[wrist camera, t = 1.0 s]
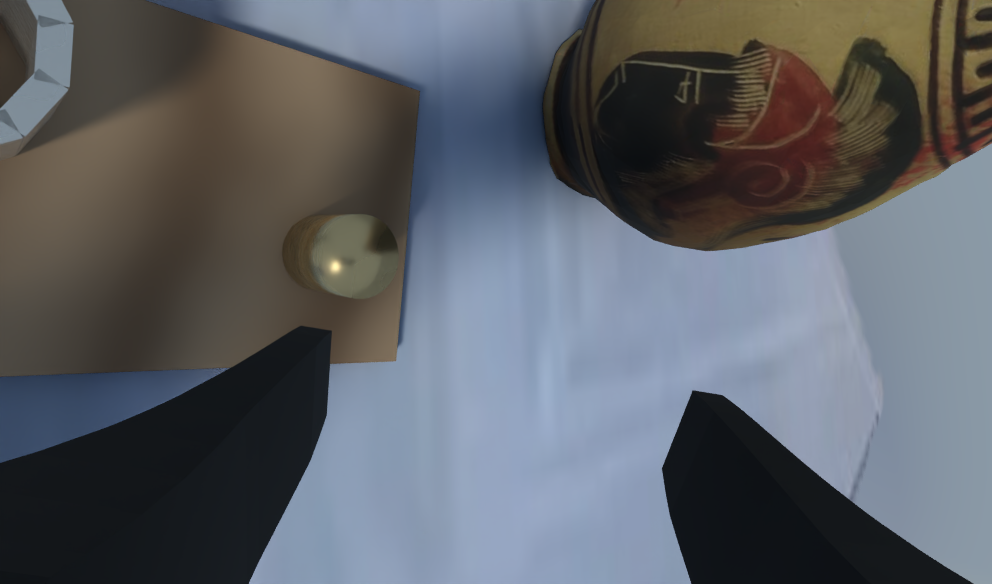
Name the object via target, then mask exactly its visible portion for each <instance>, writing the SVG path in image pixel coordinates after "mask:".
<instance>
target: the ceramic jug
mask: <svg viewBox="0 0 992 584" xmlns="http://www.w3.org/2000/svg"><path fill="white" fill-rule="evenodd" d="M543 114H544V124H545V134H546V142H547V147H548V152H549V157H550V165H551V167H552V169H553V171H554V173H555V175H556V178H557V179H559V180H560V181H562V182H563V183H565V184H566V185H567V186H568V187H570V188H571V189H573V190H575V191H577V192H579V193H580V194H582V195H585V196H589V197H593V198H596V199H597V200H599V201H600V202H601V203H602V204H603V205H604V206H606V207H607V208H608V209H609V210H610V211H611V212H613V213H614V214H615V215H616V216H617V217H619V218H620V219H621V220H623V221H624V222H626V223H627V224H629V225H630V226H632V227H633V228H635V229H637V230H638V231H640V232H642V233H643V234H645V235H646V236H648V237H650V238H651V239H653V240H655V241H658V242H662V243H665V244H669V245H672V246H678V247H684V248H690V249H696V250H702V251H717V250H727V249H736V248H744V247H749V246H754V245H759V244H764V243H769V242H775V241H779V240H785V239H790V238H794V237H798V236H802V235H806V234H809V233H812V232H816V231H820V230H825V229H827V228H829V227H832V226H834V225H836V224H839V223H841V222H843V221H846V220H849V219H852V218H855V217H857V216H859V215H861V214H863V213H865V212H868V211H870V210H872V209H874V208H876V207H877V206H879V205H881V204H883V203H885V202H887V201H888V200H890V199H892V198H894V197H896V196H898V195H900V194H901V193H903V192H905V191H907V190H909V189H911V188H913V187H914V186H916V185H918V184H920V183H922V182H924V181H927V180H929V179H931V178H934V177H936V176H938V175H939V174H941V173H942V172H943V171H945V170H946V169H947V168H949V167H950V166H951V165H952V164H954V163H956V162H958V161H961V160H963V159H965V158H967V157H968V156H970V155H972V154H973V153H975V152H977V151H979V150H981V149H982V148H984V147H986V146H988V145H989V144H991V143H992V0H596V1H595V3H594V5H593V7H592V8H591V10H590V12H589V15H588V17H587V20H586V22H585V25H584V28H583V30H581V29H578V30H577V31H576V32H575V33H574V34H573V35H572V36H571V37H570V38H569V39H568V40H567V41H565V42H564V43H563V44H562V45H561V47H560V48H559V50H558V51H557V53H556V55H555V58H554V62H553V65H552V69H551V72H550V76H549V79H548V83H547V86H546V90H545V93H544V100H543Z"/></svg>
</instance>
